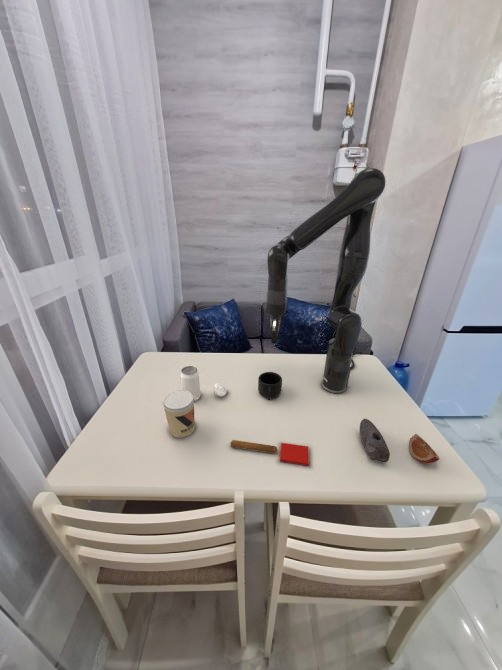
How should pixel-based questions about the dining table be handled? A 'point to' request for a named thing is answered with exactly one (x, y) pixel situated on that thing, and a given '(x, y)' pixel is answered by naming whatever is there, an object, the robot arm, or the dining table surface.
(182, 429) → the beige lidded canister
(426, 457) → the fruit slice
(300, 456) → the spatula
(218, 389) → the dumpling
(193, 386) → the can
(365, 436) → the perforated stone tool
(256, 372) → the dining table surface
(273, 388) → the mug
